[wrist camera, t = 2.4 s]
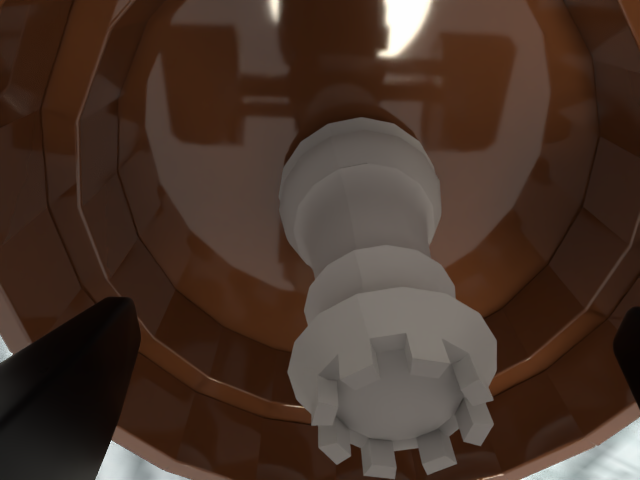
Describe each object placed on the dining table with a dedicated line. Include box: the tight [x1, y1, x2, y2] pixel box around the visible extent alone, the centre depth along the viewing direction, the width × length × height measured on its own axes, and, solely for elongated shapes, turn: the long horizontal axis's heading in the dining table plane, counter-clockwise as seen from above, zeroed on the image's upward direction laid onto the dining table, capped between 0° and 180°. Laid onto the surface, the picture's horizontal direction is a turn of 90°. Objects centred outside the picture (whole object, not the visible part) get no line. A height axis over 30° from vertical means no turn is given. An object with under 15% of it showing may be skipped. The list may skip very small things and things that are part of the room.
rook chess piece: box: [279, 117, 497, 479], centre depth 10 cm, size 4×4×8 cm
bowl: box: [0, 0, 640, 480], centre depth 11 cm, size 16×16×5 cm
